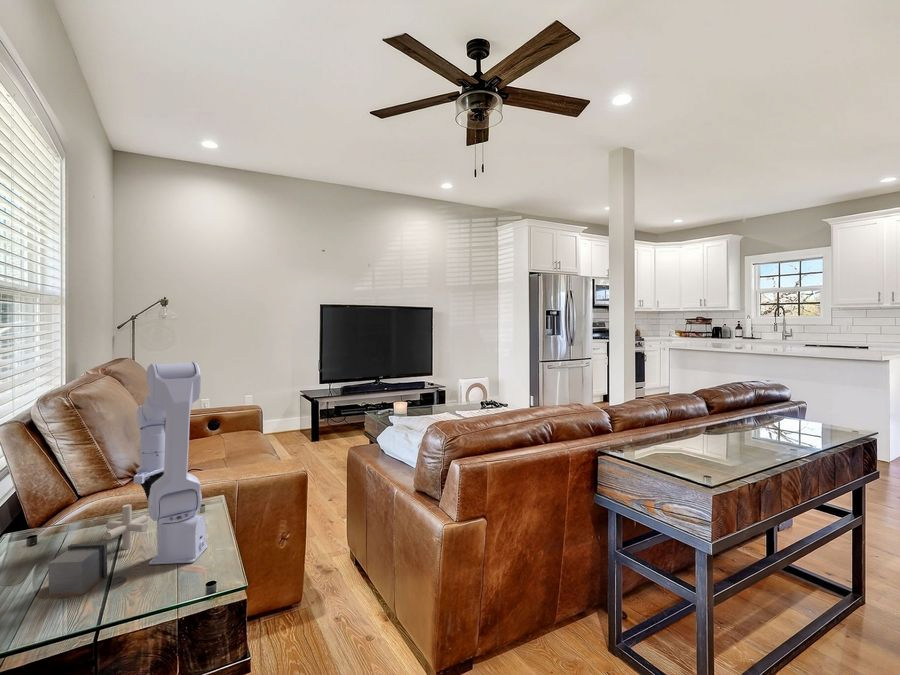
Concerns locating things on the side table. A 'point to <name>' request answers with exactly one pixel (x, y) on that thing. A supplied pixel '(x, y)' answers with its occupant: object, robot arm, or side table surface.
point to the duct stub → (77, 569)
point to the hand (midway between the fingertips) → (153, 502)
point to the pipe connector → (126, 526)
